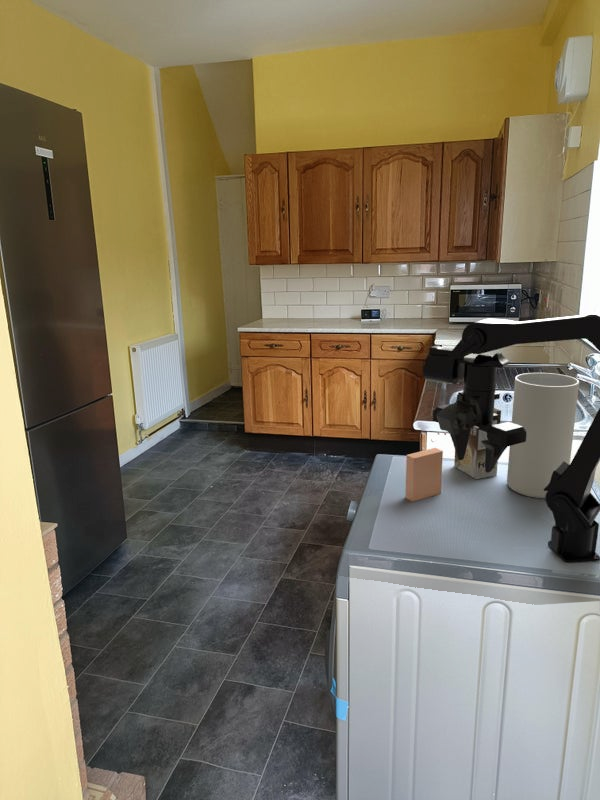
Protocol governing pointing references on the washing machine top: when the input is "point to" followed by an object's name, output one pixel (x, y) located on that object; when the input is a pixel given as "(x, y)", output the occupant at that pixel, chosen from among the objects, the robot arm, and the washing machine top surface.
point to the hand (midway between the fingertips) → (474, 465)
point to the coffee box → (476, 453)
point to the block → (423, 474)
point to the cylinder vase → (541, 429)
